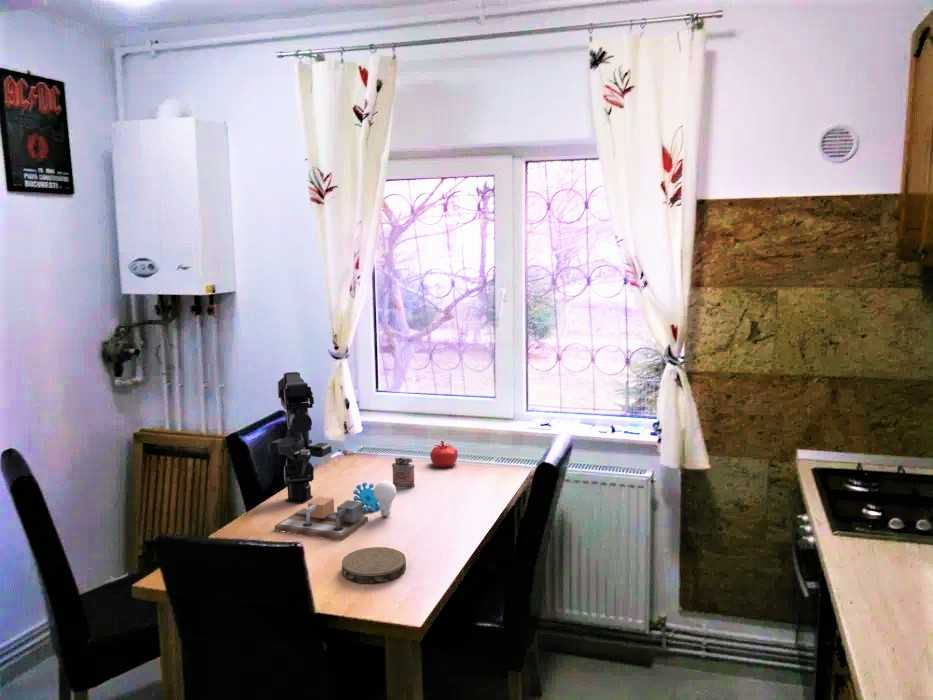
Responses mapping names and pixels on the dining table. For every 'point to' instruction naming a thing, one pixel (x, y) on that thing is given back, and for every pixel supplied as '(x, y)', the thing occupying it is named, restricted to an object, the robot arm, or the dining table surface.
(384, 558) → the brown round disc
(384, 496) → the light bulb
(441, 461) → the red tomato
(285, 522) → the base
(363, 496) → the gear
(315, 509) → the sliding jaw
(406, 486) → the flat bottle
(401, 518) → the dining table surface
